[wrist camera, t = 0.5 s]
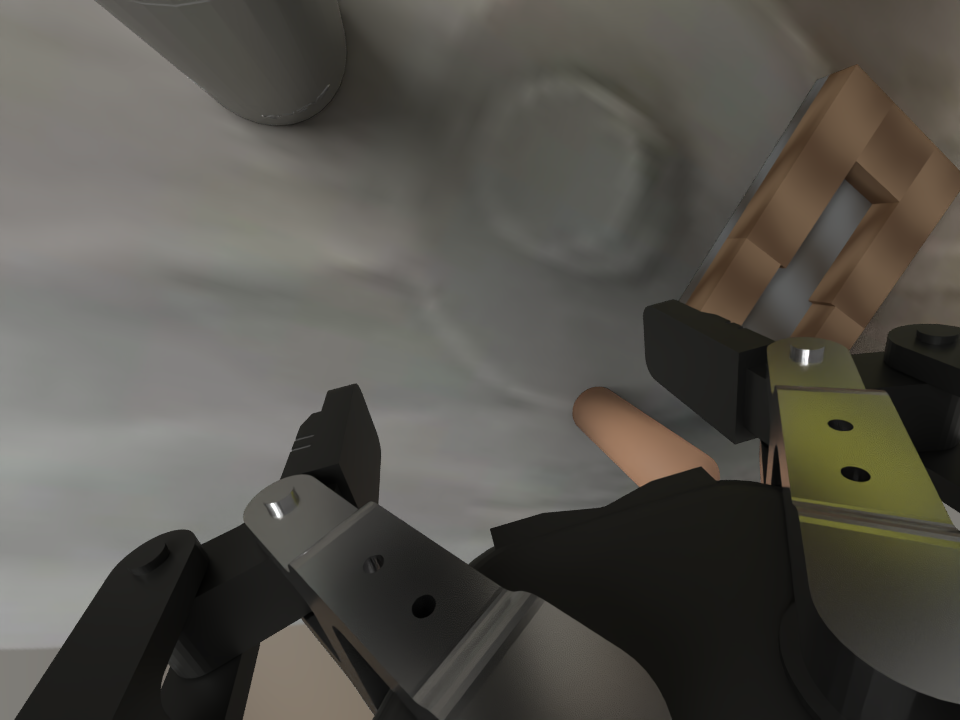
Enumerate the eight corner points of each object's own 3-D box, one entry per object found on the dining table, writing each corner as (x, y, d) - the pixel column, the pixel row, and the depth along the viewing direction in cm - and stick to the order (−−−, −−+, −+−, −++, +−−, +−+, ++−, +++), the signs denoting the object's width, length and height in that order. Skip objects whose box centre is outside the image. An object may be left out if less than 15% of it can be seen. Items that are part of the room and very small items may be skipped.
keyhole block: (771, 407, 40) (801, 420, 37) (656, 335, 36) (679, 343, 33) (923, 184, 37) (967, 179, 34) (816, 79, 33) (857, 64, 30)
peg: (565, 400, 36) (646, 473, 24) (608, 378, 36) (709, 440, 24) (582, 440, 37) (667, 528, 25) (624, 418, 37) (727, 495, 26)
